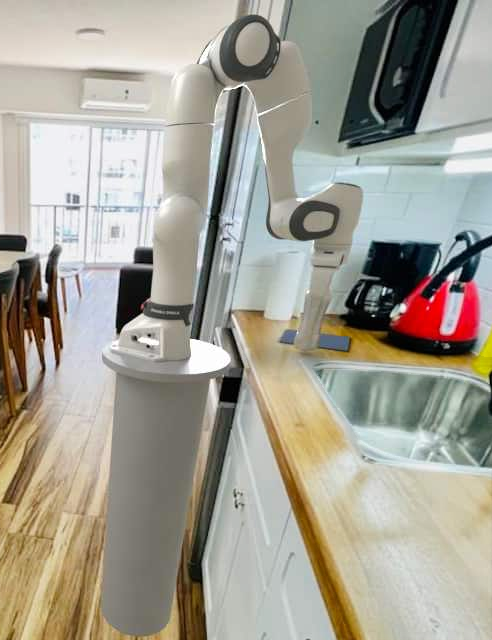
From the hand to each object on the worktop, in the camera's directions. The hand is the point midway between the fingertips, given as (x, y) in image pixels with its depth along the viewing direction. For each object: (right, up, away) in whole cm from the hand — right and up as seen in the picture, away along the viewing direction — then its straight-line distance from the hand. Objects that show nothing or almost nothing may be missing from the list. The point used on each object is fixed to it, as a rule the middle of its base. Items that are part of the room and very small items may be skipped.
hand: (314, 309), depth 130 cm
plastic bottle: (0, -10, +6) cm, 11 cm away
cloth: (+9, -4, +17) cm, 20 cm away
